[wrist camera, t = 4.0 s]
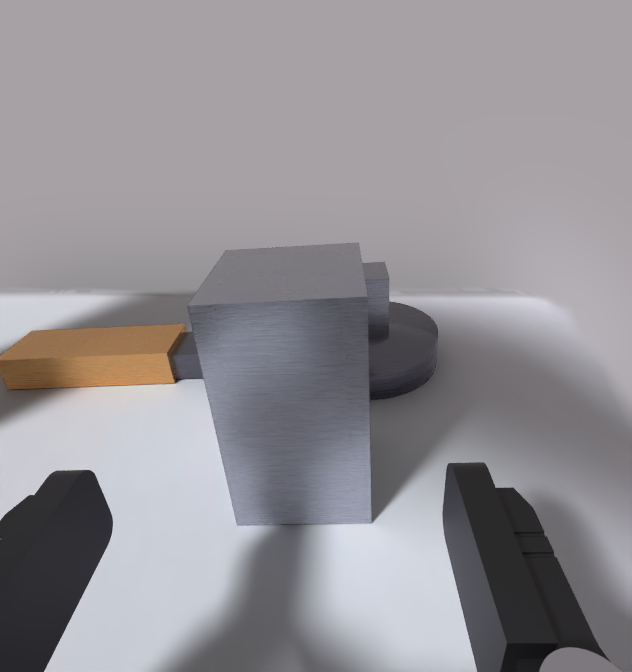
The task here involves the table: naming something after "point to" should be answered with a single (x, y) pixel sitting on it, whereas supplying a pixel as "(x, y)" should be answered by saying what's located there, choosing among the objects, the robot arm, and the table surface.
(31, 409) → the table surface
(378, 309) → the ratchet
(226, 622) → the table surface
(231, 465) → the brushed metal block
